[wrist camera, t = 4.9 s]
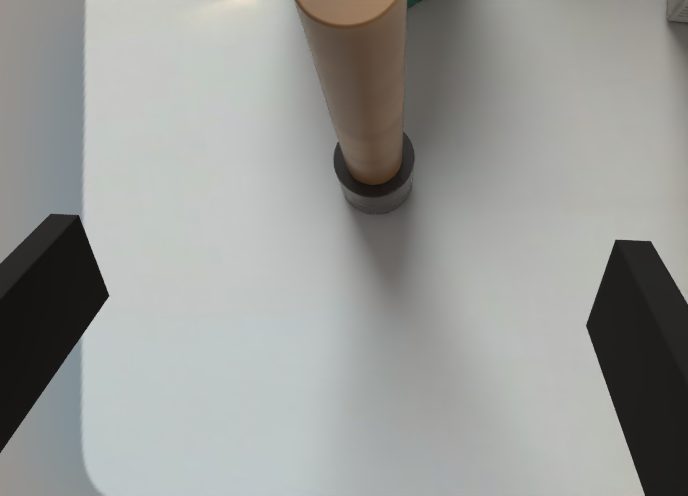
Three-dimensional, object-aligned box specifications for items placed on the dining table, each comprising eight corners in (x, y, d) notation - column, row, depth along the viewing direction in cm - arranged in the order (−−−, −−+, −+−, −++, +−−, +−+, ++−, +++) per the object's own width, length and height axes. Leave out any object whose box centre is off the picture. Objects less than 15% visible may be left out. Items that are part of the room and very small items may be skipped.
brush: (413, 147, 30) (437, -106, 13) (410, 216, 30) (430, 52, 12) (344, 144, 31) (272, -103, 13) (339, 212, 30) (257, 50, 13)
